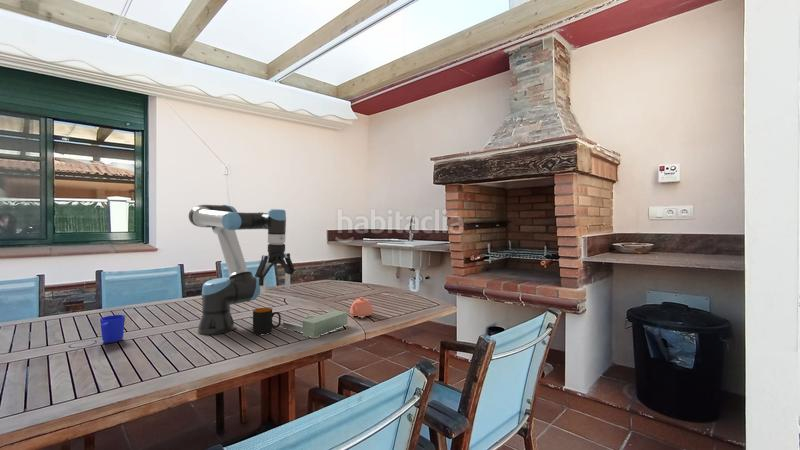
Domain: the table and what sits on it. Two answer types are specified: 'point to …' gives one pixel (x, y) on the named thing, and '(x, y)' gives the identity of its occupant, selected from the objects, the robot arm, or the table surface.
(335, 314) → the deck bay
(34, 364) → the table surface
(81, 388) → the table surface
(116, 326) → the mug
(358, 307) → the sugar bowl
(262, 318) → the mug
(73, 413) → the table surface
